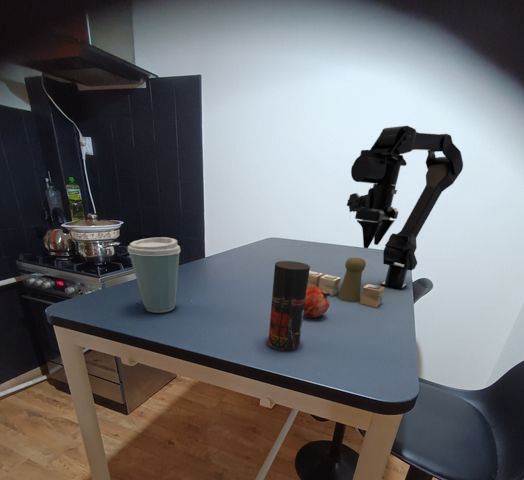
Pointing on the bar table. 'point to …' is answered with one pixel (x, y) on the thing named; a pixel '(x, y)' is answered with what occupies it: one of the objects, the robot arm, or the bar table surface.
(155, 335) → the bar table surface
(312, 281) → the block
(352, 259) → the olive tapered pawn
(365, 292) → the block
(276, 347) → the deodorant
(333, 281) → the block
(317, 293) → the pomegranate
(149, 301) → the disposable coffee cup
